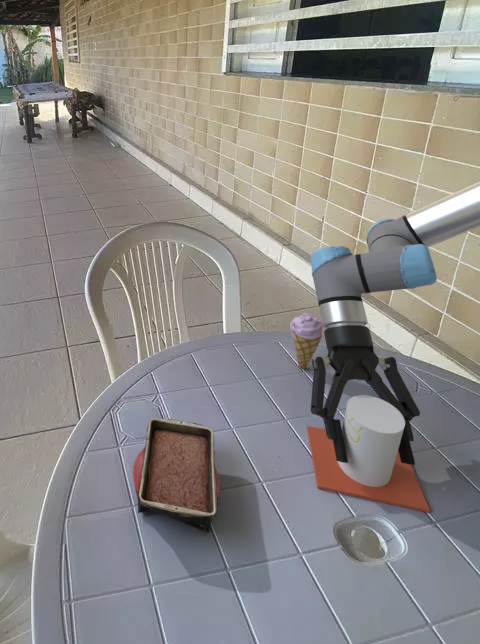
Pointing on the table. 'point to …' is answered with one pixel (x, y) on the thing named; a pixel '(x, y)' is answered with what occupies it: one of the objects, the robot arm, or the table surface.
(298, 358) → the ice cream cone
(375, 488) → the mat
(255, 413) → the table surface
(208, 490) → the baking dish
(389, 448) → the cup
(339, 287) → the robot arm
